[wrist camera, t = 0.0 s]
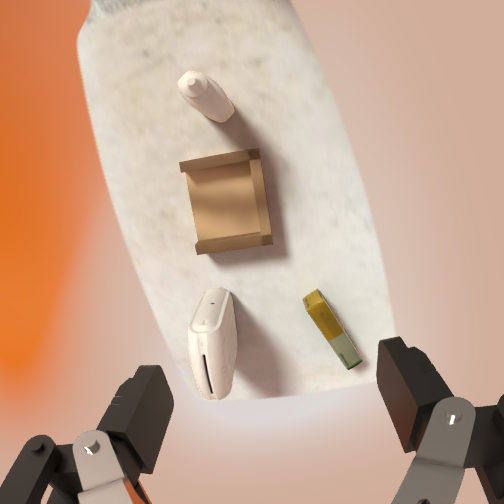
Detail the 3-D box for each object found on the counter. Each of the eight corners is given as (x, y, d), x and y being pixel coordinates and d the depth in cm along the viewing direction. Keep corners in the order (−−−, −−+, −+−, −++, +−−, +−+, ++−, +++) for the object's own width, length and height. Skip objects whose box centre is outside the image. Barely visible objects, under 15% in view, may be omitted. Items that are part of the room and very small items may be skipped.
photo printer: (200, 286, 42) (177, 335, 30) (232, 284, 41) (220, 334, 30) (211, 350, 45) (195, 408, 33) (240, 349, 44) (232, 408, 33)
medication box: (356, 347, 44) (364, 362, 40) (341, 356, 44) (347, 372, 41) (318, 287, 41) (323, 299, 38) (300, 298, 42) (304, 311, 38)
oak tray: (185, 161, 37) (179, 162, 34) (258, 148, 36) (258, 148, 33) (201, 247, 40) (197, 254, 37) (272, 237, 39) (272, 244, 36)
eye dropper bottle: (223, 77, 34) (205, 45, 22) (237, 118, 35) (225, 101, 24) (189, 90, 34) (158, 64, 23) (203, 130, 36) (176, 119, 24)
